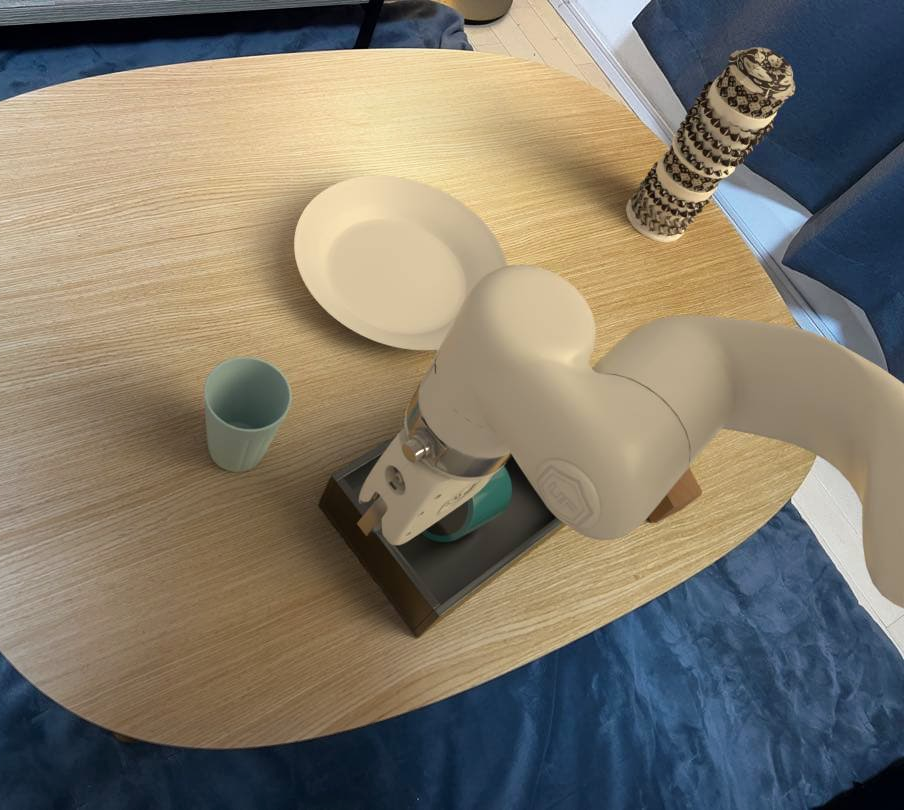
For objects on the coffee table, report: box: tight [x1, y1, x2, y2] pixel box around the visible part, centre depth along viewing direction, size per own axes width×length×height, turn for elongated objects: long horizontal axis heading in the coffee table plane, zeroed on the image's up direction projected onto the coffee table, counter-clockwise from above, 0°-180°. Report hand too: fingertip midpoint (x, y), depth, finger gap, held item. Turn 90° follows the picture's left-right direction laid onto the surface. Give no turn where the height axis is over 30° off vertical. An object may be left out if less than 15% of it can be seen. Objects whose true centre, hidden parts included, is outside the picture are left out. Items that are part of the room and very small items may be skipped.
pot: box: [421, 466, 512, 542], centre depth 79 cm, size 7×7×8 cm
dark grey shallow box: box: [317, 434, 567, 639], centre depth 81 cm, size 16×22×7 cm
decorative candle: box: [625, 46, 796, 244], centre depth 103 cm, size 9×9×25 cm
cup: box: [203, 355, 293, 473], centre depth 78 cm, size 8×8×10 cm
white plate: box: [293, 175, 509, 351], centre depth 97 cm, size 25×25×4 cm
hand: (393, 526), depth 70 cm, fingers closed
